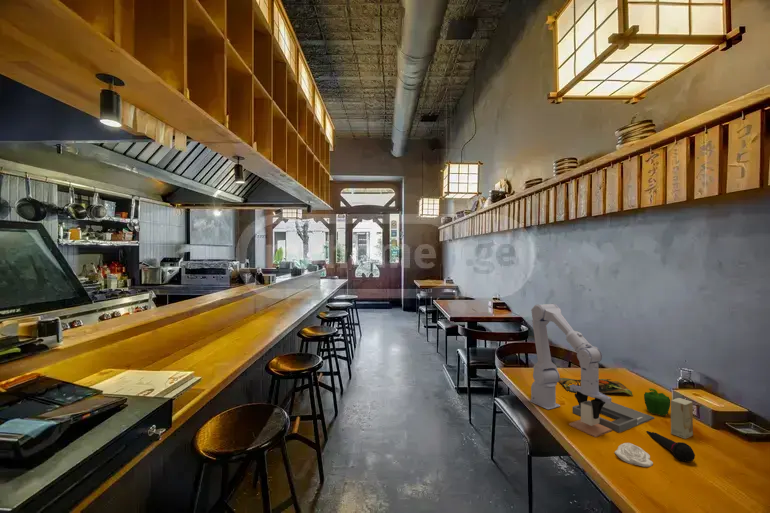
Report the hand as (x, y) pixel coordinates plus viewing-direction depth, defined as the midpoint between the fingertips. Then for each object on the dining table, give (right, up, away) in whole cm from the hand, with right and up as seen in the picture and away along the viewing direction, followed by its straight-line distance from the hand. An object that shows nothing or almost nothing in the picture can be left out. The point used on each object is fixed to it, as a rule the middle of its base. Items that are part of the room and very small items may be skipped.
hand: (589, 415), depth 126 cm
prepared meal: (+26, -6, +40) cm, 48 cm away
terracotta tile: (0, -5, 0) cm, 5 cm away
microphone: (+18, -5, -14) cm, 24 cm away
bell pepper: (+35, -5, +12) cm, 38 cm away
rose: (+2, -5, -19) cm, 20 cm away
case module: (0, -3, 0) cm, 3 cm away
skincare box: (+30, -5, -5) cm, 31 cm away
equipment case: (+15, -5, +10) cm, 18 cm away
